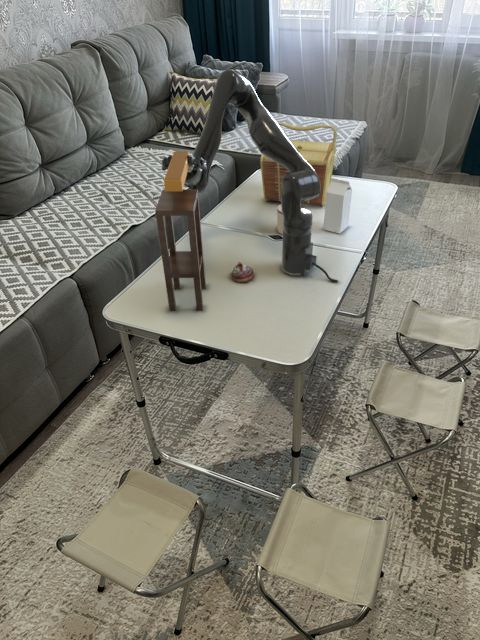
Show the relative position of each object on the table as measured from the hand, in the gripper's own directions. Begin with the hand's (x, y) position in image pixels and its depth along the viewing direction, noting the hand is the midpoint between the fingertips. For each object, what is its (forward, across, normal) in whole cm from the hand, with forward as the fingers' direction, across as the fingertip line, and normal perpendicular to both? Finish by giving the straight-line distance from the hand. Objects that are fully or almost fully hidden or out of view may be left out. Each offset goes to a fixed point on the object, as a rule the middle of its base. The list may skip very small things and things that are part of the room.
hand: (179, 159), depth 144 cm
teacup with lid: (-49, +35, +17) cm, 63 cm away
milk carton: (-50, +52, +16) cm, 74 cm away
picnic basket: (-76, +40, +1) cm, 86 cm away
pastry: (-19, +17, +34) cm, 42 cm away
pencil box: (+3, 0, +5) cm, 6 cm away
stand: (-9, 0, +40) cm, 41 cm away
